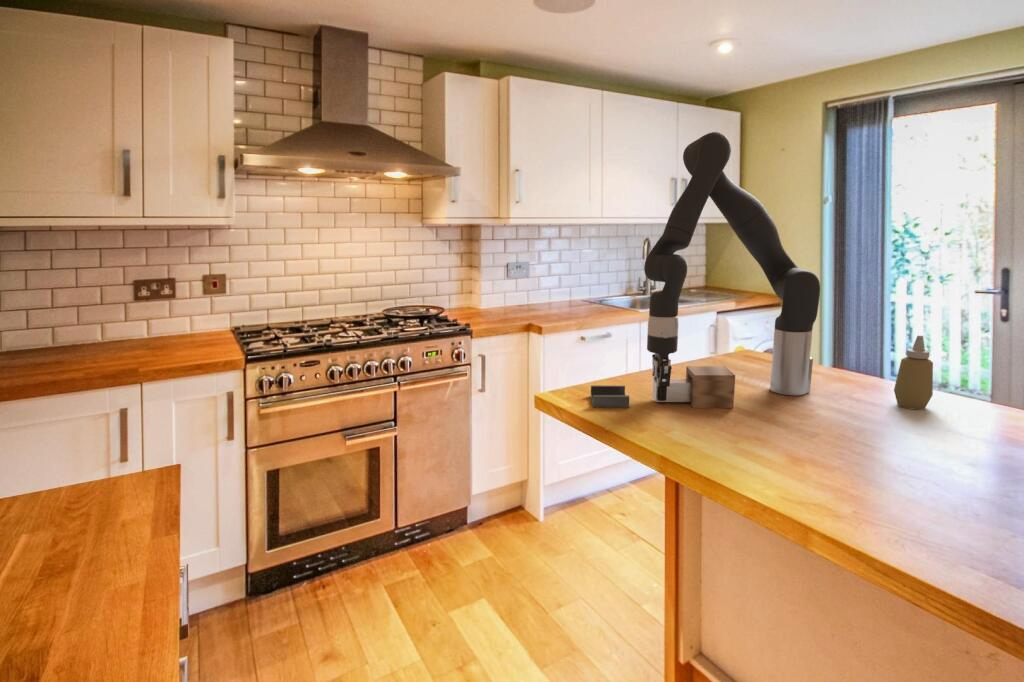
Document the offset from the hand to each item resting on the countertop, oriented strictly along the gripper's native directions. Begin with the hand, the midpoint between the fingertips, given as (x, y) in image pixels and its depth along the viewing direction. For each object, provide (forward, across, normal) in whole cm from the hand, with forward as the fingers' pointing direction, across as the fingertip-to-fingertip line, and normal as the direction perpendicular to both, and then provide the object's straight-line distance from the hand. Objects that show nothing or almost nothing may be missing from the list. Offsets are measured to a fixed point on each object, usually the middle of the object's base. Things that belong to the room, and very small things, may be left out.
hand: (660, 397), depth 158 cm
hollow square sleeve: (+1, 0, +12) cm, 13 cm away
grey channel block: (+1, 0, -13) cm, 13 cm away
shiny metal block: (+1, 0, +4) cm, 4 cm away
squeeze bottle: (+1, +2, +62) cm, 62 cm away
